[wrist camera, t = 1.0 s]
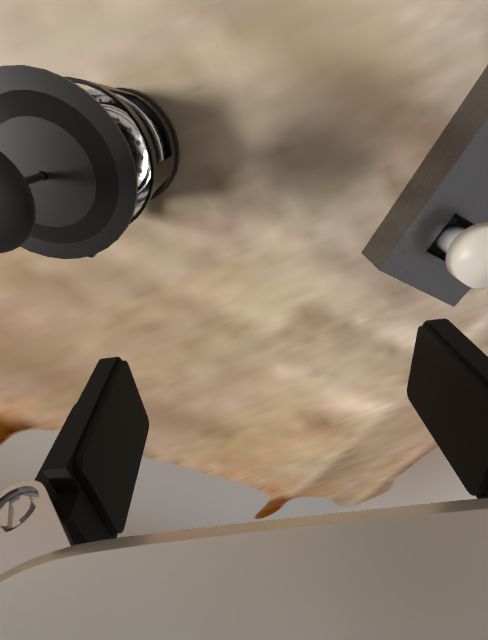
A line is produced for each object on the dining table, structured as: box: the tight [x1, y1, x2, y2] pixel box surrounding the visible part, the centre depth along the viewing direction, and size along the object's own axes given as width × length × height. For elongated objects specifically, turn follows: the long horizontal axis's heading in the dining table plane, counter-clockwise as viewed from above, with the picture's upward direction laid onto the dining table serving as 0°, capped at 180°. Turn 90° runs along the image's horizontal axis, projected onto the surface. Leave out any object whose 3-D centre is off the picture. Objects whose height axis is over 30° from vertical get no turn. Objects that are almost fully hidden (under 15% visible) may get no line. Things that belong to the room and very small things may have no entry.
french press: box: [0, 65, 179, 259], centre depth 22 cm, size 12×9×23 cm
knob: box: [435, 222, 488, 289], centre depth 31 cm, size 5×5×6 cm
